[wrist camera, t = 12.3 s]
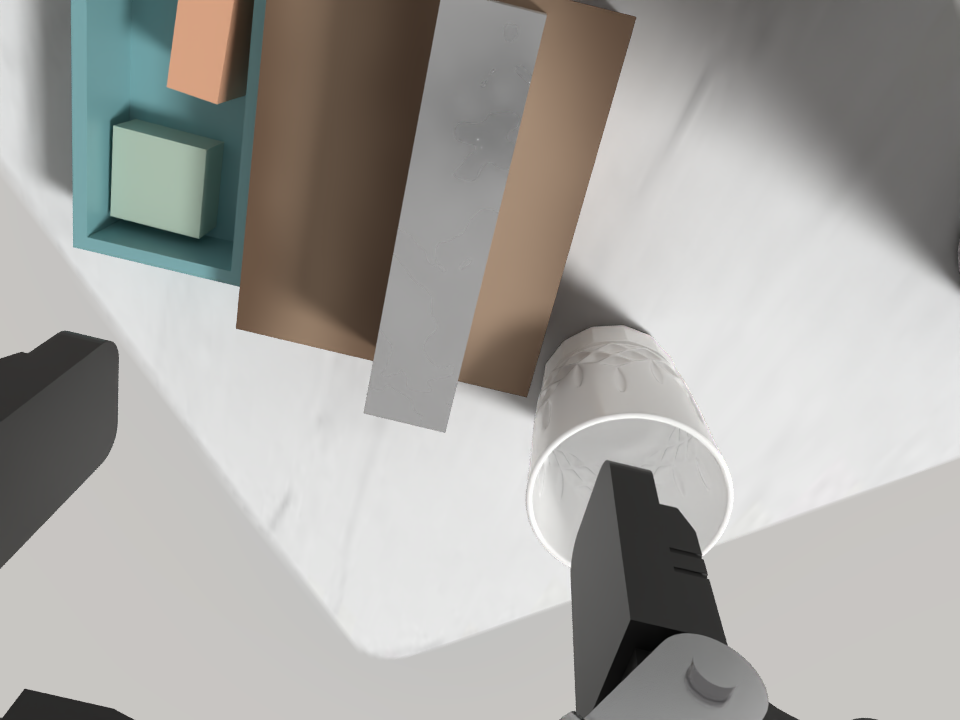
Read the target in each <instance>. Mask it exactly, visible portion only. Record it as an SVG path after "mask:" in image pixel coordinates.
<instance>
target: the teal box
mask: <svg viewBox="0 0 960 720" xmlns="http://www.w3.org/2000/svg"><path fill="white" fill-rule="evenodd" d="M177 5H178V0H71V72H72V171H73V247H75V248H80V249H84V250H88V251H92V252H96V253H101V254H105V255H109V256H113V257H117V258H122V259H126V260H130V261H134V262H138V263H143V264H147V265H151V266H155V267H159V268H164V269H168V270H172V271H176V272H180V273H185V274H189V275H193V276H197V277H201V278H206V279H210V280H214V281H218V282H222V283H227V284H231V285H235V286H239V287H240V280H241V269H242V258H243V247H244V236H245V225H246V215H247V204H248V193H249V182H250V171H251V160H252V149H253V139H254V128H255V117H256V106H257V95H258V84H259V73H260V63H261V52H262V41H263V30H264V19H265V8H266V0H254V9H253V20H252V32H251V44H250V55H249V67H248V79H247V90H246V95H245V96H242V97H239V98H236V99H232V100H229V101H226V102H223V103H220V104H215V103H212V102H209V101H206V100H203V99H200V98H197V97H194V96H191V95H188V94H185V93H183V92H180V91H177V90H174V89H171V88H168V87H167V80H168V72H169V65H170V57H171V50H172V42H173V35H174V27H175V20H176V12H177ZM134 119H139V120H142V121H146V122H150V123H154V124H158V125H161V126H165V127H169V128H173V129H177V130H180V131H184V132H188V133H192V134H196V135H200V136H203V137H207V138H211V139H215V140H219V141H222V142H224V151H223V161H222V172H221V183H220V193H219V204H218V214H217V225H216V227H215V228H214V229H212V230H211V231H209V232H208V233H207V234H205V235H204V236H202V237H201V238H199V239H198V238H194V237H190V236H186V235H183V234H179V233H175V232H171V231H167V230H163V229H159V228H155V227H151V226H148V225H144V224H140V223H136V222H132V221H128V220H124V219H120V218H117V217H113V216H110V214H111V182H112V150H113V125H117V124H120V123H124V122H127V121H131V120H134Z"/></svg>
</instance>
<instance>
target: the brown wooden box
mask: <svg viewBox="0 0 960 720" xmlns="http://www.w3.org/2000/svg"><path fill="white" fill-rule="evenodd" d="M496 1H500V2H504V3H508V4H512V5H516V6H520V7H524V8H528V9H532V10H536V11H540V12H543V13H546V14H547V17H546V21H545V25H544V29H543V33H542V38H541V42H540V46H539V50H538V54H537V58H536V62H535V66H534V70H533V74H532V79H531V83H530V87H529V91H528V95H527V99H526V103H525V107H524V111H523V116H522V120H521V124H520V128H519V132H518V136H517V140H516V144H515V148H514V152H513V157H512V161H511V165H510V169H509V173H508V177H507V181H506V185H505V189H504V193H503V198H502V202H501V206H500V210H499V214H498V218H497V222H496V226H495V230H494V234H493V239H492V243H491V247H490V251H489V255H488V259H487V263H486V267H485V271H484V276H483V280H482V284H481V288H480V292H479V296H478V300H477V304H476V308H475V312H474V317H473V321H472V325H471V329H470V333H469V337H468V341H467V345H466V349H465V353H464V358H463V362H462V366H461V370H460V374H459V378H458V381H460V382H464V383H469V384H473V385H477V386H481V387H485V388H490V389H494V390H498V391H502V392H507V393H511V394H515V395H519V396H523V397H527V395H528V392H529V388H530V385H531V381H532V378H533V374H534V371H535V367H536V364H537V361H538V357H539V354H540V350H541V347H542V343H543V340H544V336H545V333H546V329H547V326H548V322H549V319H550V315H551V312H552V308H553V305H554V302H555V298H556V295H557V291H558V288H559V284H560V281H561V277H562V274H563V270H564V267H565V263H566V260H567V256H568V253H569V249H570V246H571V243H572V239H573V236H574V232H575V229H576V225H577V222H578V218H579V215H580V211H581V208H582V204H583V201H584V197H585V194H586V190H587V187H588V184H589V180H590V177H591V173H592V170H593V166H594V163H595V159H596V156H597V152H598V149H599V145H600V142H601V138H602V135H603V131H604V128H605V125H606V121H607V118H608V114H609V111H610V107H611V104H612V100H613V97H614V93H615V90H616V86H617V83H618V79H619V76H620V72H621V69H622V66H623V62H624V59H625V55H626V52H627V48H628V45H629V41H630V38H631V34H632V31H633V27H634V24H635V20H636V17H635V16H631V15H627V14H623V13H619V12H615V11H611V10H607V9H603V8H599V7H595V6H591V5H587V4H583V3H579V2H575V1H571V0H496ZM439 6H440V0H266V8H265V19H264V30H263V41H262V52H261V63H260V73H259V84H258V95H257V106H256V117H255V128H254V139H253V149H252V160H251V171H250V182H249V193H248V204H247V215H246V225H245V236H244V247H243V258H242V269H241V280H240V291H239V301H238V312H237V323H236V329H240V330H244V331H249V332H253V333H257V334H261V335H266V336H270V337H274V338H278V339H283V340H287V341H291V342H295V343H299V344H304V345H308V346H312V347H316V348H321V349H325V350H329V351H333V352H337V353H342V354H346V355H350V356H354V357H359V358H363V359H367V360H371V361H373V360H374V355H375V349H376V344H377V339H378V333H379V328H380V323H381V317H382V312H383V306H384V301H385V296H386V290H387V285H388V280H389V274H390V269H391V263H392V258H393V253H394V247H395V242H396V237H397V231H398V226H399V220H400V215H401V210H402V204H403V199H404V194H405V188H406V183H407V177H408V172H409V167H410V161H411V156H412V151H413V145H414V140H415V134H416V129H417V124H418V118H419V113H420V108H421V102H422V97H423V92H424V86H425V81H426V75H427V70H428V65H429V59H430V54H431V49H432V43H433V38H434V32H435V27H436V22H437V16H438V11H439Z"/></svg>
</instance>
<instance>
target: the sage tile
mask: <svg viewBox="0 0 960 720" xmlns="http://www.w3.org/2000/svg"><path fill="white" fill-rule="evenodd" d="M223 151H224V142H222V141H219V140H215V139H211V138H207V137H203V136H200V135H196V134H192V133H188V132H184V131H180V130H177V129H173V128H169V127H165V126H161V125H158V124H154V123H150V122H146V121H142V120H139V119H134V120H131V121H127V122H124V123H120V124H117V125H113V150H112V182H111V214H110V216H113V217H117V218H120V219H124V220H128V221H132V222H136V223H140V224H144V225H148V226H151V227H155V228H159V229H163V230H167V231H171V232H175V233H179V234H183V235H186V236H190V237H194V238H198V239H199V238H201V237H202V236H204V235H205V234H207V233H208V232H209V231H211V230H212V229H214V228H215V227H216V225H217V214H218V204H219V193H220V183H221V172H222V161H223Z"/></svg>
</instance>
